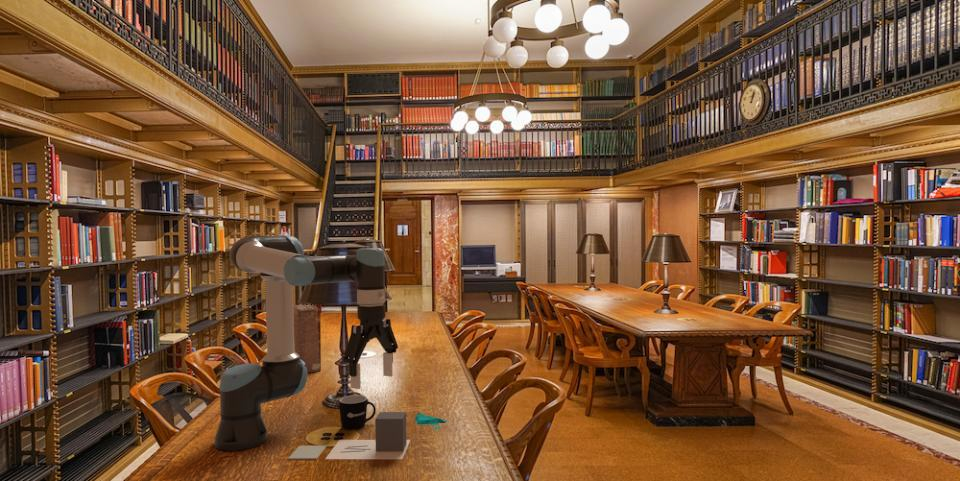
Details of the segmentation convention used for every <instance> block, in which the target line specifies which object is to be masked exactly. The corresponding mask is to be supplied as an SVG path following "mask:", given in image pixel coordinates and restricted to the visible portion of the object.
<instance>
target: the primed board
mask: <svg viewBox="0 0 960 481" xmlns="http://www.w3.org/2000/svg"><path fill="white" fill-rule="evenodd" d="M406 442H407V445H406V448H405V450H404V452H403V453H376V439H339V440H338V441H337V443H336V444H335V445H334V446H333V448H332V449H331V451H330V452H329V454H328V455H327V456H326V457H325V460H404V458H405V454H406V452H407V449H408V447H409V444H410V442H411V439H406Z"/></svg>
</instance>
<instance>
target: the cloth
mask: <svg viewBox="0 0 960 481" xmlns="http://www.w3.org/2000/svg"><path fill="white" fill-rule="evenodd" d="M414 418H415V419H414V421H415V422H417V423H416V424H417V425H418V424H419V425H418V426H433V427H431V429H432V430H438V429H440V428H442V425H438V423H445V422H447V421H448V420H446V419H445V420H446V421H445V420H444V419H442V418H439V417H436V416H435V417H434V416H431V415H426V414H424V413H421V412H418V413H417V415H415V417H414Z"/></svg>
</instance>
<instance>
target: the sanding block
mask: <svg viewBox="0 0 960 481" xmlns="http://www.w3.org/2000/svg"><path fill="white" fill-rule="evenodd" d="M374 420H375V421H374V422H375V423H374V424H375V433H374V434H375V440H376V453H403V452H404V450H405V448H406V445H407V442H406V440H407V411H379V413H378V414H377V416H376V417H375V419H374Z"/></svg>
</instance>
